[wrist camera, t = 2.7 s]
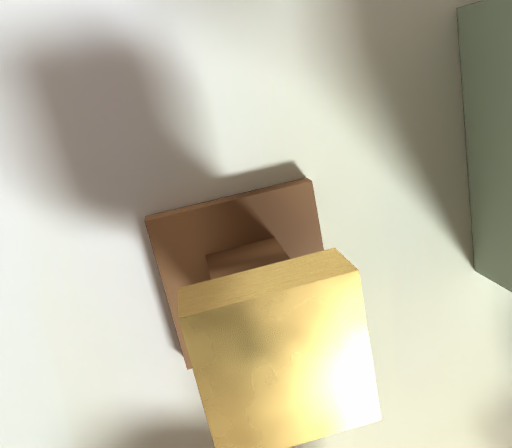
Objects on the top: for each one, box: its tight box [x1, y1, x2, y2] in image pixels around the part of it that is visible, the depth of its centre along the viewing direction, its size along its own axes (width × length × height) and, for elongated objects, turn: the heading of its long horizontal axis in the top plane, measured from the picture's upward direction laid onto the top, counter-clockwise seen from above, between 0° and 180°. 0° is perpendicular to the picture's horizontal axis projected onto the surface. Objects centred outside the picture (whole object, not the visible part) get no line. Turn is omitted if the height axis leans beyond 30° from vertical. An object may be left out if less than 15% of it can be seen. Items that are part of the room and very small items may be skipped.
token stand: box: [145, 178, 324, 370], centre depth 18 cm, size 7×7×6 cm
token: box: [177, 248, 381, 448], centre depth 14 cm, size 5×5×2 cm
